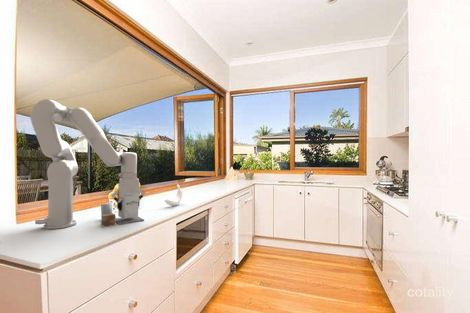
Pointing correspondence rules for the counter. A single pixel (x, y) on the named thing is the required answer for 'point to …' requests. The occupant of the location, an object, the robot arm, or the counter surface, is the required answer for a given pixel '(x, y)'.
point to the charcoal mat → (128, 220)
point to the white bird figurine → (177, 199)
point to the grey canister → (106, 208)
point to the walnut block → (108, 219)
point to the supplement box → (129, 205)
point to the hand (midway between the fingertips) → (128, 208)
